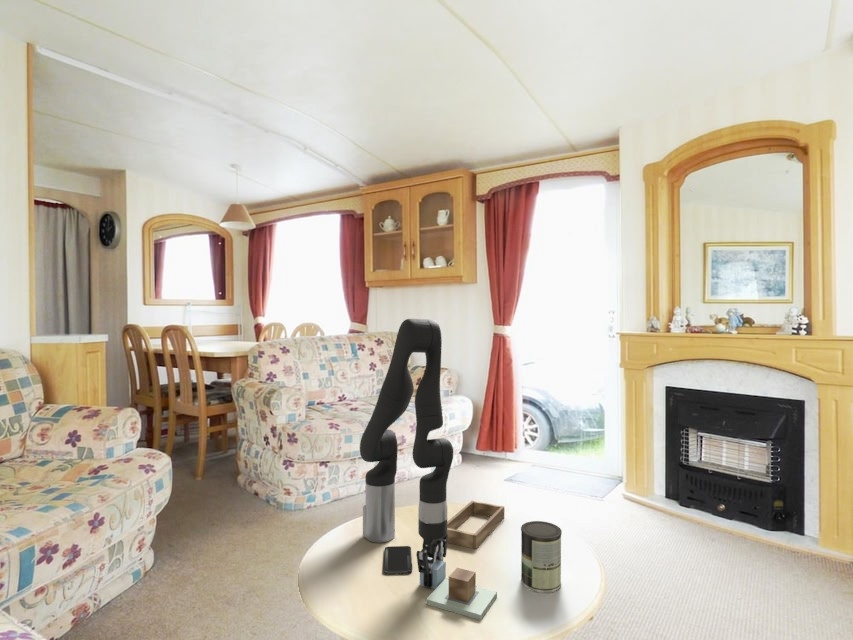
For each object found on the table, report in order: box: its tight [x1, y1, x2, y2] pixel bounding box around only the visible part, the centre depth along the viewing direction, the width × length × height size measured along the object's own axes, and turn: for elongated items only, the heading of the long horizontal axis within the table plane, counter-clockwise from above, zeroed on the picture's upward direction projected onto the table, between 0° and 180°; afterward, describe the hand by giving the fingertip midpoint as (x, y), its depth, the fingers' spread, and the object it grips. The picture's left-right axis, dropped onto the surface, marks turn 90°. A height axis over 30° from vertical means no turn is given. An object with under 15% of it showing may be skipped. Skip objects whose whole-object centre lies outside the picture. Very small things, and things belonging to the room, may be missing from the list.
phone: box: [382, 545, 413, 576], centre depth 143 cm, size 8×1×15 cm
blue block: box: [419, 557, 447, 590], centre depth 131 cm, size 5×5×5 cm
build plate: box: [425, 577, 498, 621], centre depth 123 cm, size 14×11×1 cm
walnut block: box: [448, 567, 477, 603], centre depth 123 cm, size 5×5×5 cm
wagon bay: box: [447, 500, 505, 550], centre depth 165 cm, size 12×26×4 cm, turn 153°
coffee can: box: [520, 520, 563, 594], centre depth 131 cm, size 10×10×14 cm
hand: (432, 581), depth 131 cm, fingers closed on blue block, 5 cm apart
